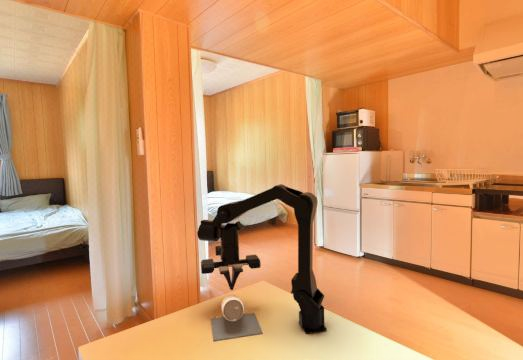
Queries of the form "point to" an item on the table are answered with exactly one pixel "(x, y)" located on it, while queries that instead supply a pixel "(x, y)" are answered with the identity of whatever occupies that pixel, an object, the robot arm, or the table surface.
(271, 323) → the table surface
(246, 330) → the mat
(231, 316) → the can
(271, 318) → the table surface
